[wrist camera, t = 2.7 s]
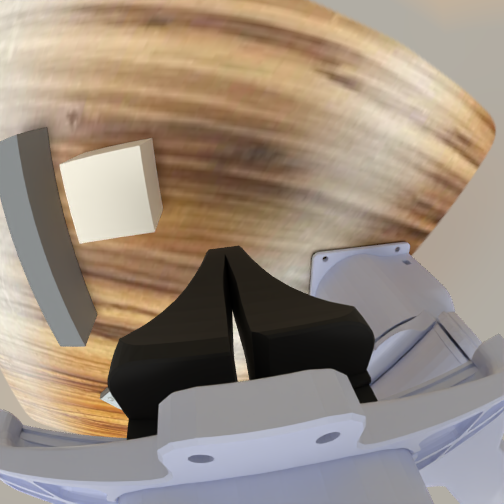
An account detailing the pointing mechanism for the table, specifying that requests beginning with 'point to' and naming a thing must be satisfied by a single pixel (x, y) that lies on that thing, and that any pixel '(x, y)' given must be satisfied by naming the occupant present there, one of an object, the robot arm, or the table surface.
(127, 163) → the cream block
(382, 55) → the table surface
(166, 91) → the table surface
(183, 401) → the robot arm
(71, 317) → the gray bar
